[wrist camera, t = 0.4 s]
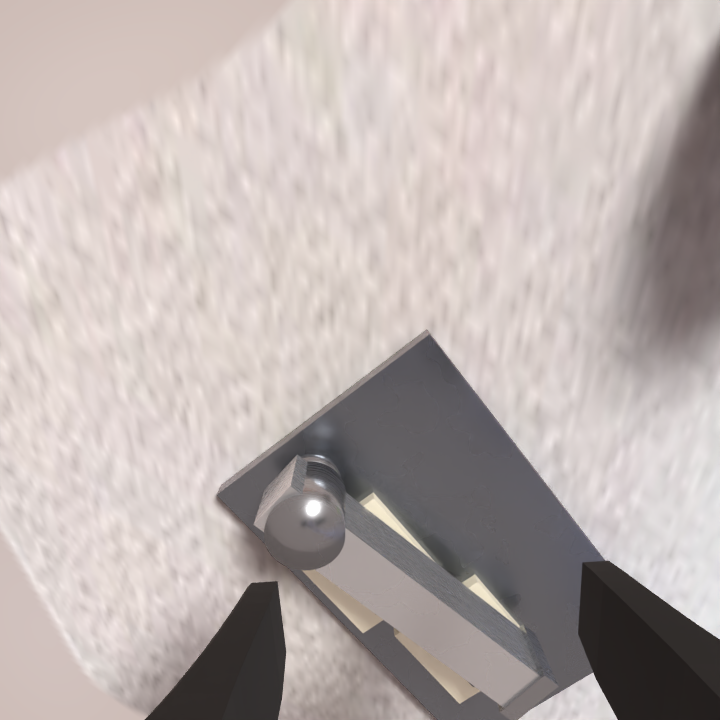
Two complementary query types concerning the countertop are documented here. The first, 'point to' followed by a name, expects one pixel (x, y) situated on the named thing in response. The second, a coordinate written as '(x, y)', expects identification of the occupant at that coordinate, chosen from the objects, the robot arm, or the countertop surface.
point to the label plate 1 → (343, 600)
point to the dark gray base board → (443, 508)
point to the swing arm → (400, 585)
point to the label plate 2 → (440, 671)
